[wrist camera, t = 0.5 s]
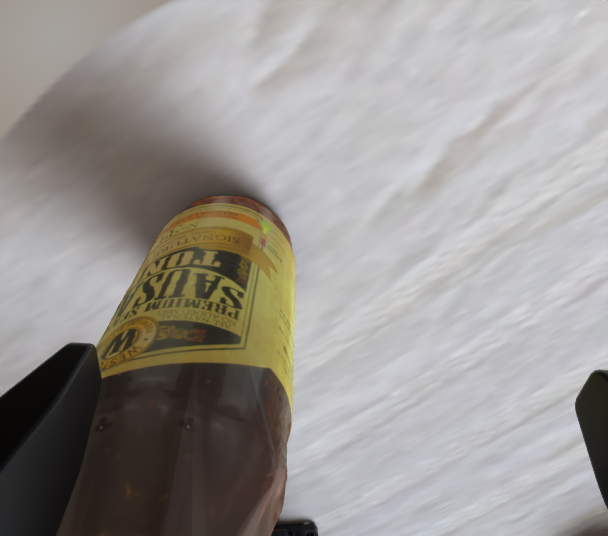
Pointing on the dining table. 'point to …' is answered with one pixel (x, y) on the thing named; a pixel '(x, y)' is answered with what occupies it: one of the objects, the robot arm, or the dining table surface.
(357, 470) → the dining table surface
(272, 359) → the sauce bottle
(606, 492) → the robot arm
